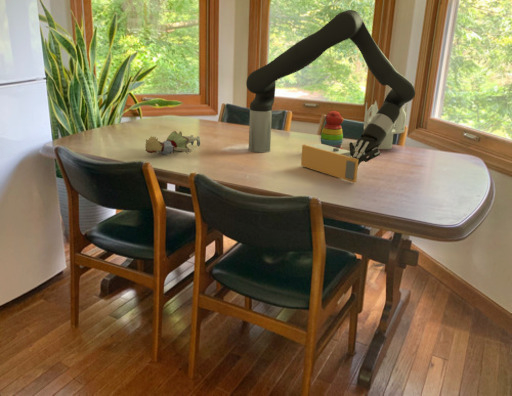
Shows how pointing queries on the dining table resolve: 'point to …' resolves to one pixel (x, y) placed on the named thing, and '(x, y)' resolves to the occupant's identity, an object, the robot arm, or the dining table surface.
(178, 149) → the figurine
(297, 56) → the robot arm
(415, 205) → the dining table surface
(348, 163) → the side door
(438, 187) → the dining table surface
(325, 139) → the stacking bear
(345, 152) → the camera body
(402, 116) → the decorative object
